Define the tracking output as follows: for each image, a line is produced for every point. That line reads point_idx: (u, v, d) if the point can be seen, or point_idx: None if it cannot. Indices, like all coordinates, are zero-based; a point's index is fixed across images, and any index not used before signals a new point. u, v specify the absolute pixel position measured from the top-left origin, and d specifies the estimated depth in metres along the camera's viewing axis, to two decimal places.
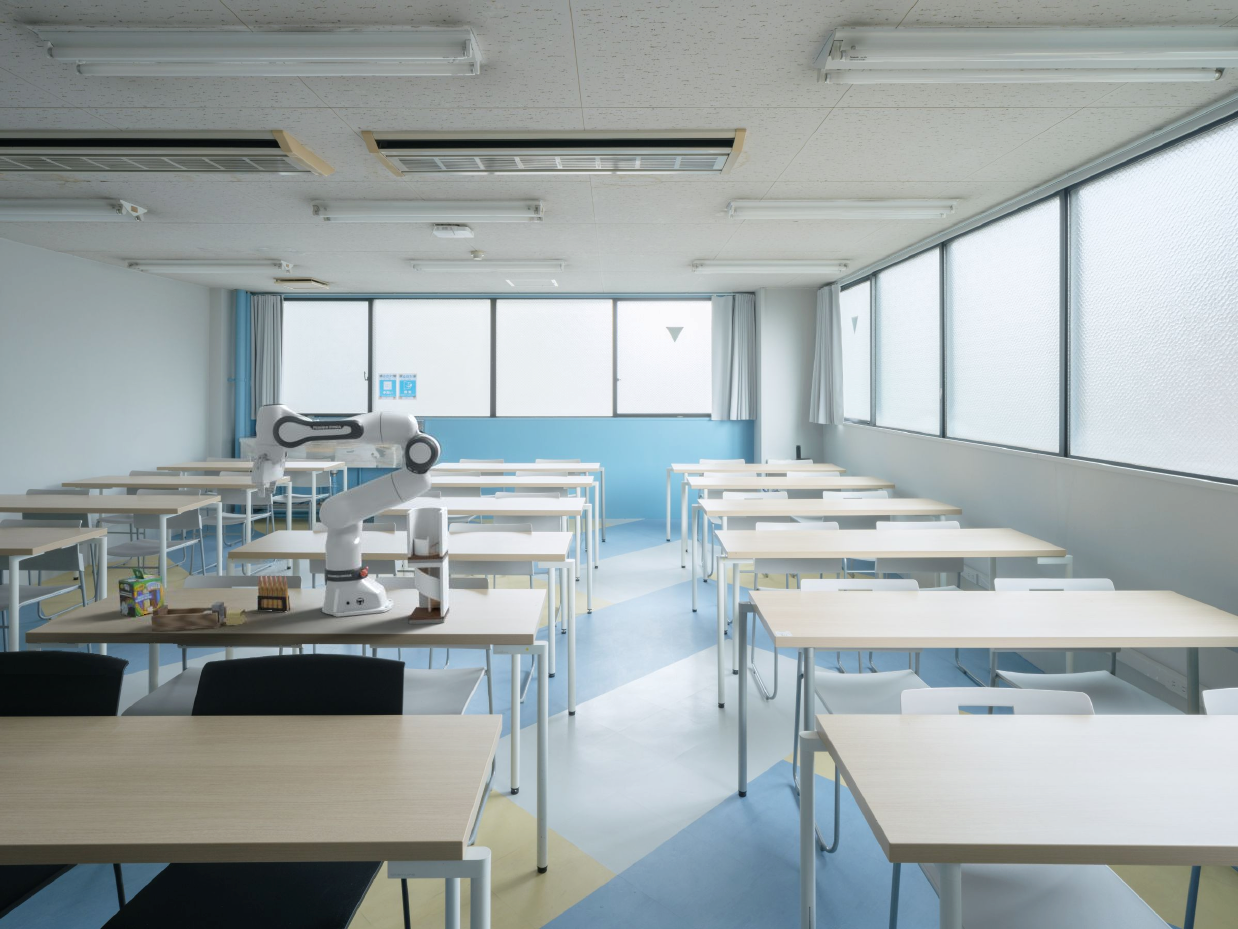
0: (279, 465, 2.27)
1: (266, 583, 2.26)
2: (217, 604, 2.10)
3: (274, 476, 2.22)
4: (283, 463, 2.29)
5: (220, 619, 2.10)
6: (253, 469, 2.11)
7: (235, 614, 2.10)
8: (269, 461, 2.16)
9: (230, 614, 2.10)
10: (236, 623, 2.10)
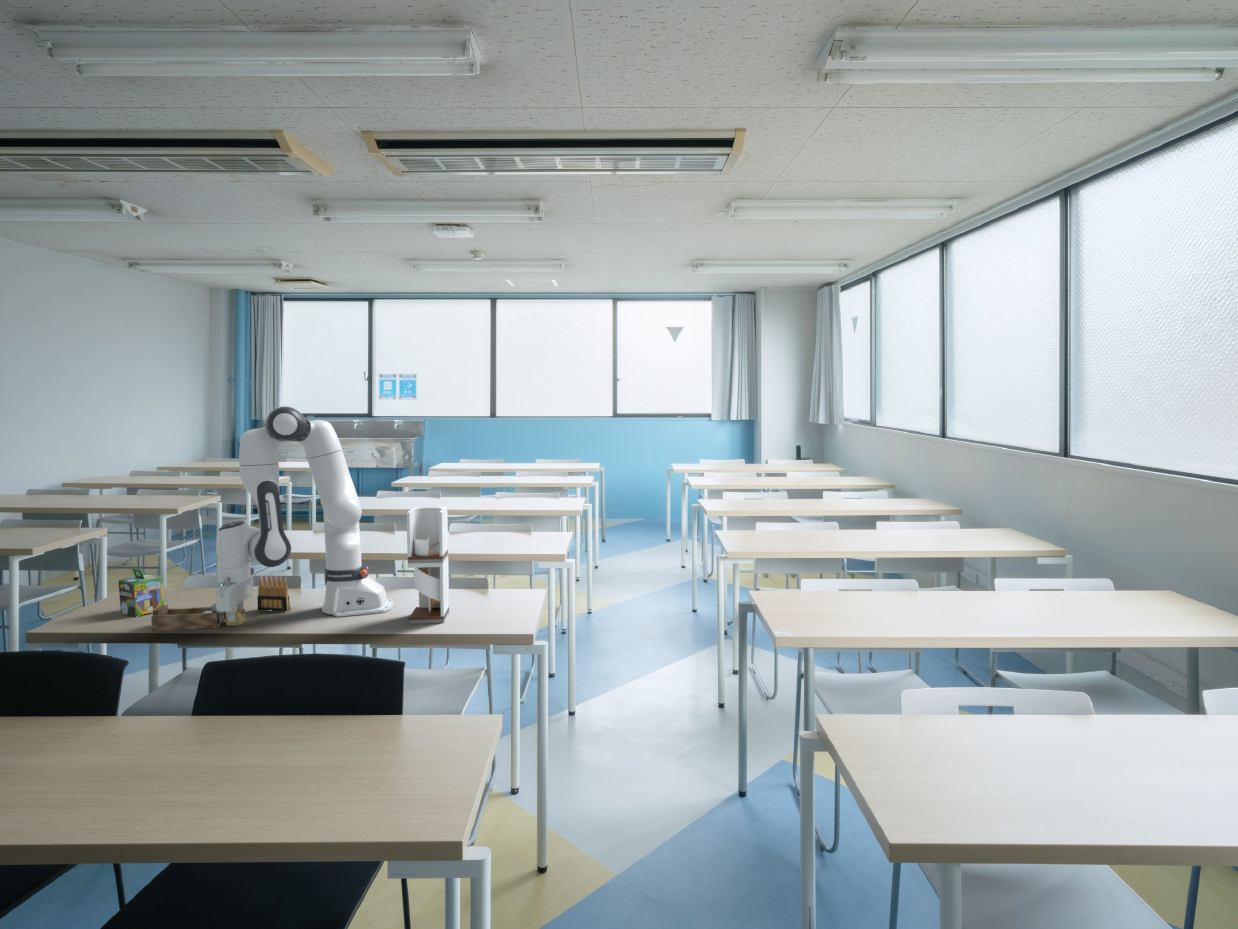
0: (246, 583, 2.17)
1: (266, 583, 2.26)
2: None
3: (242, 597, 2.13)
4: (251, 580, 2.19)
5: (220, 619, 2.10)
6: (217, 597, 2.02)
7: (235, 614, 2.10)
8: (233, 585, 2.07)
9: None
10: (236, 623, 2.10)
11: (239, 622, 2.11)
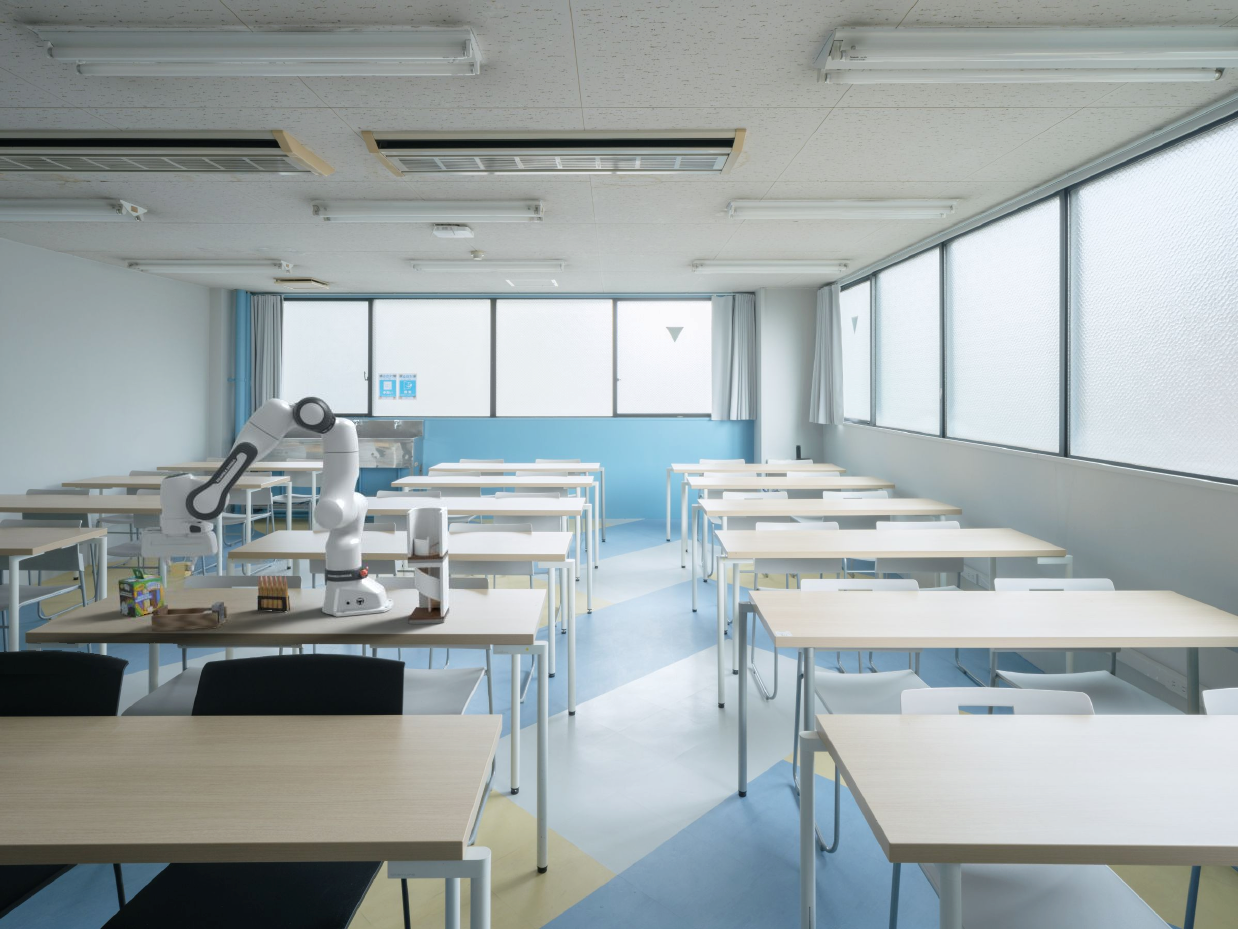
0: (198, 540, 2.07)
1: (266, 583, 2.26)
2: (217, 604, 2.10)
3: (179, 552, 2.06)
4: (204, 539, 2.07)
5: (220, 619, 2.10)
6: None
7: None
8: (158, 534, 2.05)
9: None
10: None
11: None
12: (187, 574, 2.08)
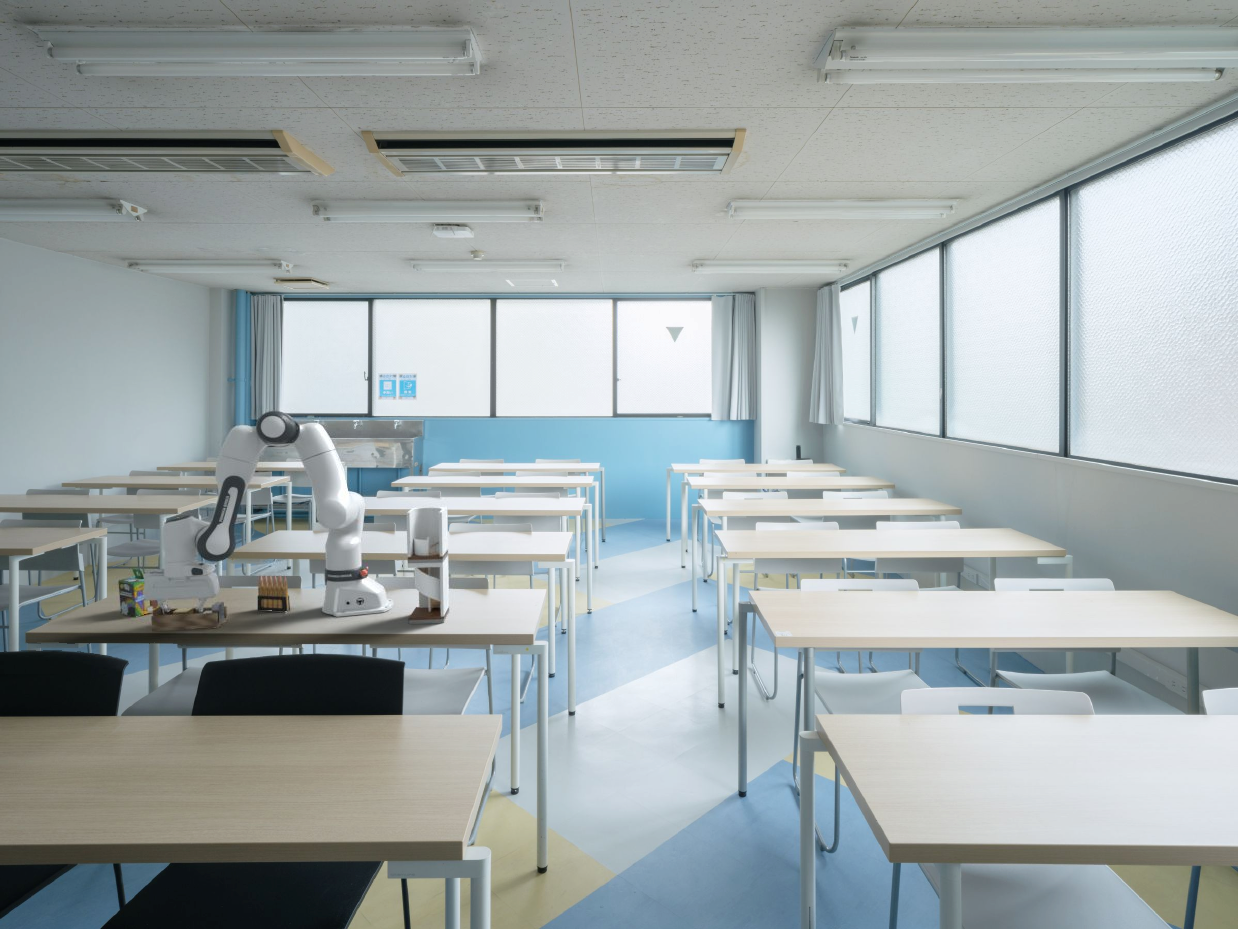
0: (200, 582, 2.08)
1: (266, 583, 2.26)
2: (217, 604, 2.10)
3: (181, 594, 2.07)
4: (206, 581, 2.08)
5: (220, 619, 2.10)
6: None
7: None
8: (160, 577, 2.06)
9: None
10: None
11: None
12: None
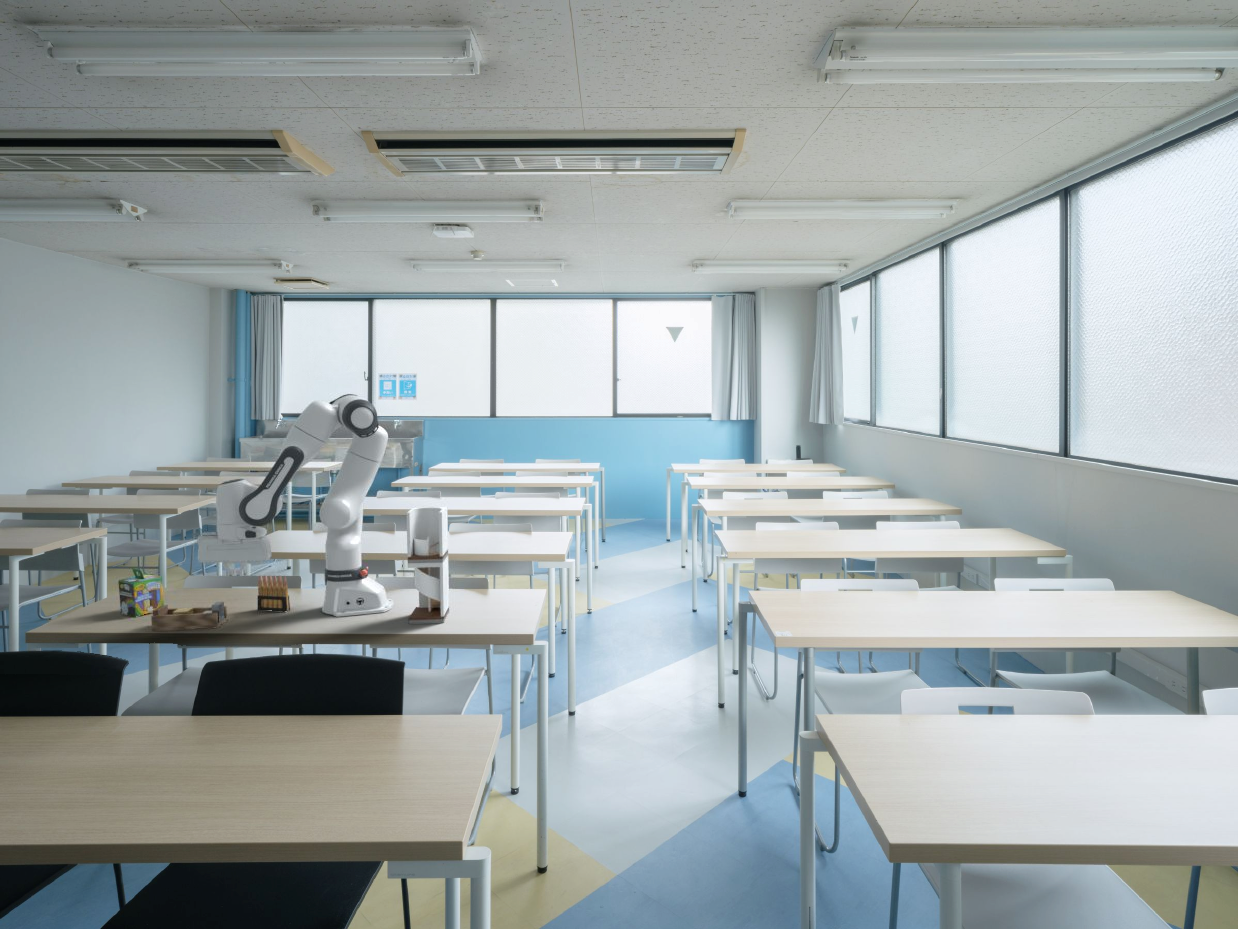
0: (253, 545, 2.10)
1: (266, 583, 2.26)
2: (217, 604, 2.10)
3: (235, 557, 2.09)
4: (259, 544, 2.10)
5: (220, 619, 2.10)
6: None
7: None
8: (214, 540, 2.08)
9: None
10: None
11: None
12: None
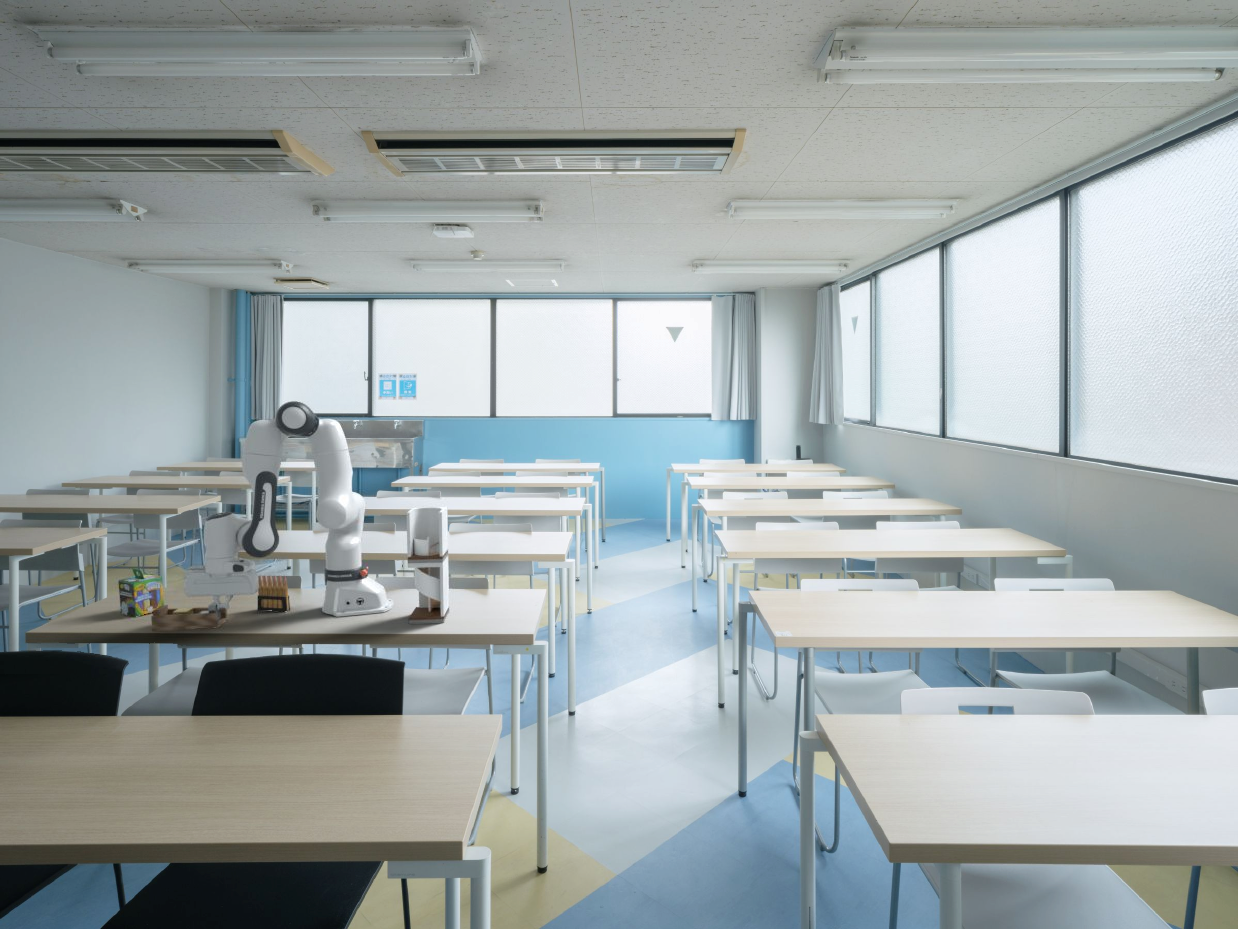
0: (241, 579, 2.10)
1: (266, 583, 2.26)
2: (214, 604, 2.10)
3: (222, 590, 2.09)
4: (247, 577, 2.10)
5: None
6: None
7: None
8: (201, 574, 2.08)
9: None
10: None
11: None
12: None
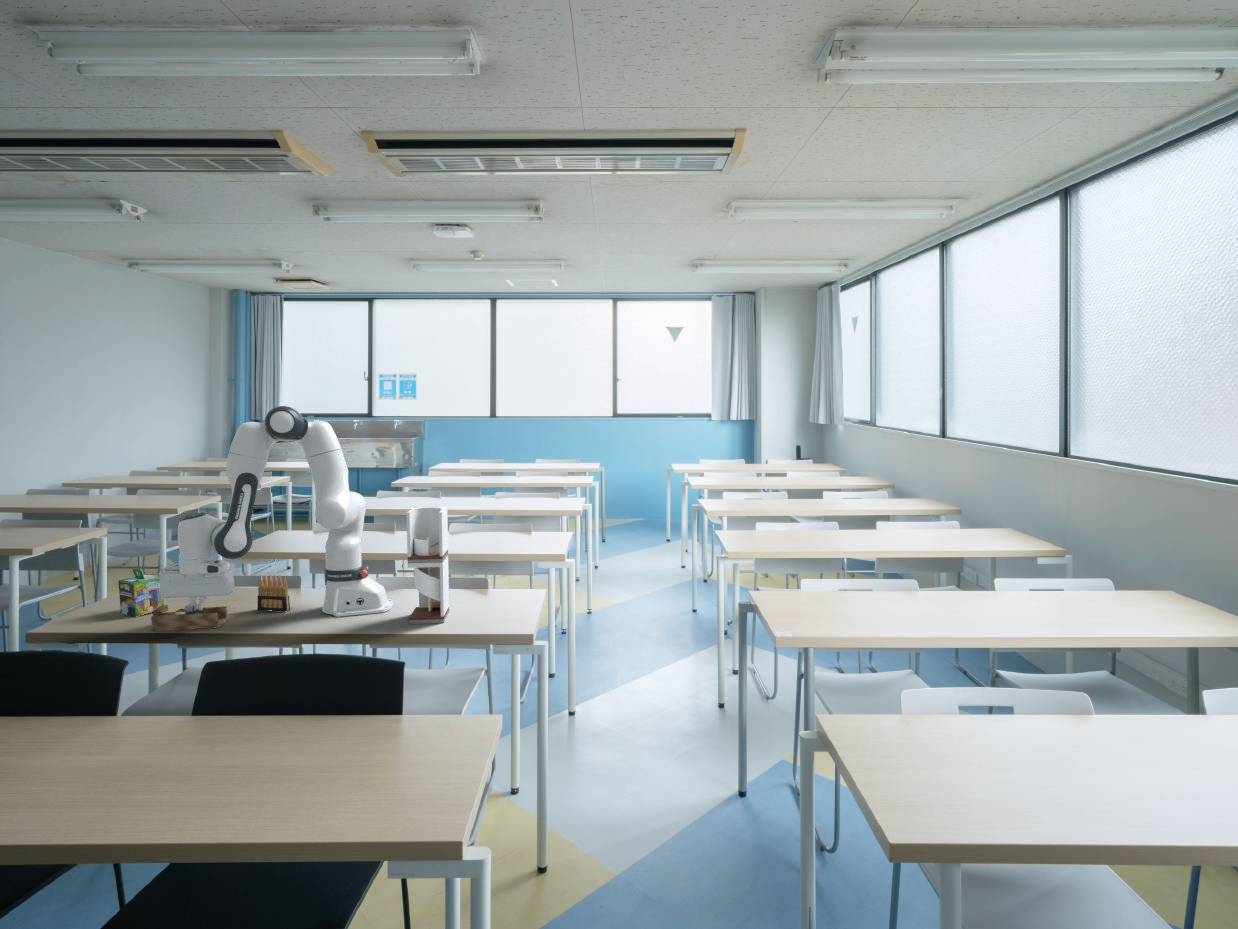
0: (215, 580, 2.09)
1: (266, 583, 2.26)
2: (190, 605, 2.09)
3: (197, 591, 2.08)
4: (221, 578, 2.09)
5: None
6: None
7: None
8: (176, 575, 2.07)
9: None
10: None
11: None
12: None
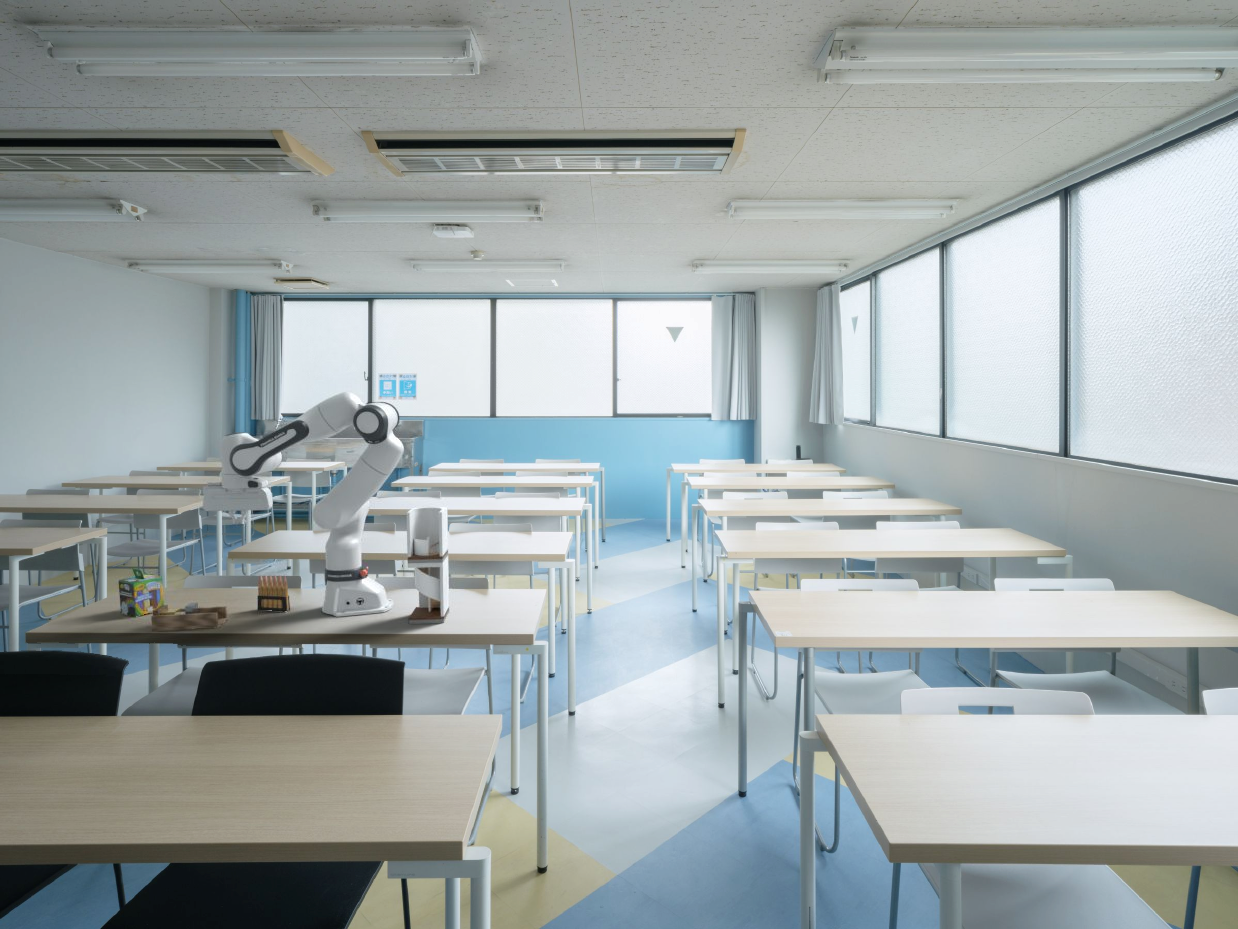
0: (255, 495, 2.22)
1: (266, 583, 2.26)
2: (191, 605, 2.09)
3: (238, 505, 2.21)
4: (261, 493, 2.22)
5: None
6: None
7: None
8: (218, 489, 2.20)
9: None
10: None
11: None
12: None
